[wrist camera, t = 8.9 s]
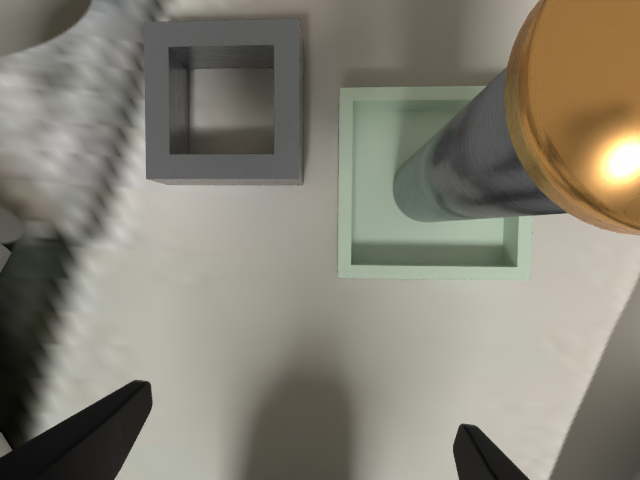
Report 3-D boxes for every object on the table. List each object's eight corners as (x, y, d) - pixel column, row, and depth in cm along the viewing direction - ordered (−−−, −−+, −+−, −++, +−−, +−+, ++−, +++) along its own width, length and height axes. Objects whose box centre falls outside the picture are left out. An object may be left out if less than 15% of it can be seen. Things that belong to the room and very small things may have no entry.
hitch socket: (302, 184, 21) (298, 179, 18) (168, 184, 21) (146, 179, 19) (303, 44, 20) (299, 18, 18) (166, 47, 21) (144, 22, 18)
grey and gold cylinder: (446, 245, 20) (794, 294, 5) (369, 208, 20) (478, 147, 5) (485, 167, 20) (985, -34, 5) (407, 131, 20) (642, -180, 5)
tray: (509, 275, 20) (530, 280, 18) (337, 272, 21) (337, 277, 19) (514, 100, 20) (536, 84, 18) (338, 102, 20) (339, 87, 18)
